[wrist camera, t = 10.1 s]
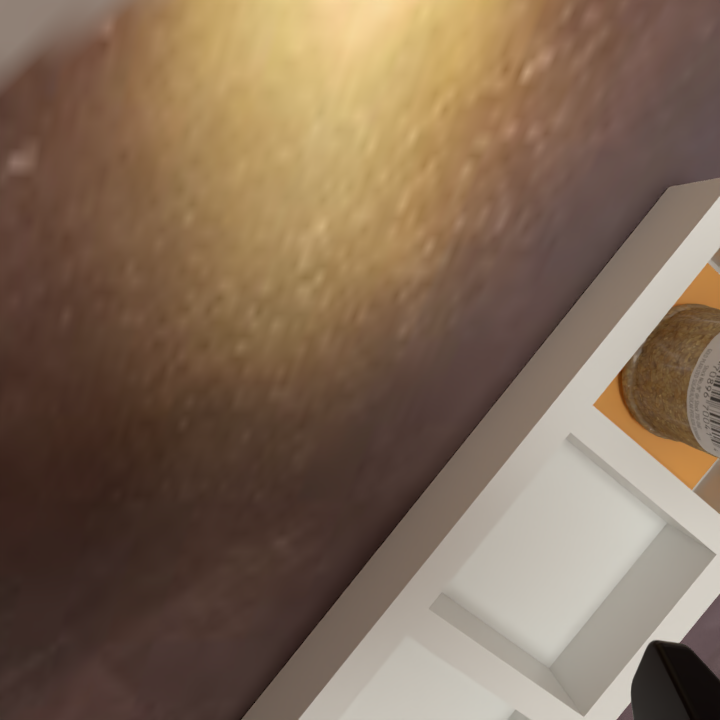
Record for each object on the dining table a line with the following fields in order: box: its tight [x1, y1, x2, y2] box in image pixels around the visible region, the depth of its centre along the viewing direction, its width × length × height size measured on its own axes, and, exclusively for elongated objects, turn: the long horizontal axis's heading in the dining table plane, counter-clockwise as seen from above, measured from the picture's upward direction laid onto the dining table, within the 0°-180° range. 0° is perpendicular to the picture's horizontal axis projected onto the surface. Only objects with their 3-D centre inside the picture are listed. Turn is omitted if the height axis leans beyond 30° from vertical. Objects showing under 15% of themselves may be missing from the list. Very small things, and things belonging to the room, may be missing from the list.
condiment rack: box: [241, 178, 720, 720], centre depth 20 cm, size 24×8×3 cm, turn 141°
